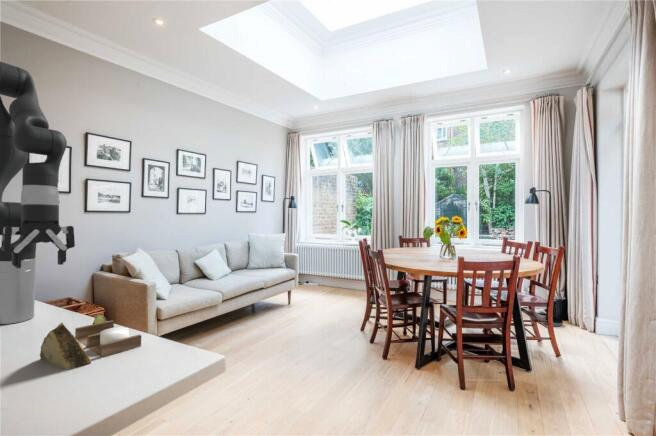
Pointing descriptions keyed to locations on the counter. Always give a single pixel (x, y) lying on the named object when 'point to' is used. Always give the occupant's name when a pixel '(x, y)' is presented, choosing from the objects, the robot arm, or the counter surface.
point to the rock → (63, 349)
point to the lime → (99, 319)
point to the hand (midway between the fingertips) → (40, 266)
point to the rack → (92, 341)
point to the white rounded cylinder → (113, 334)
